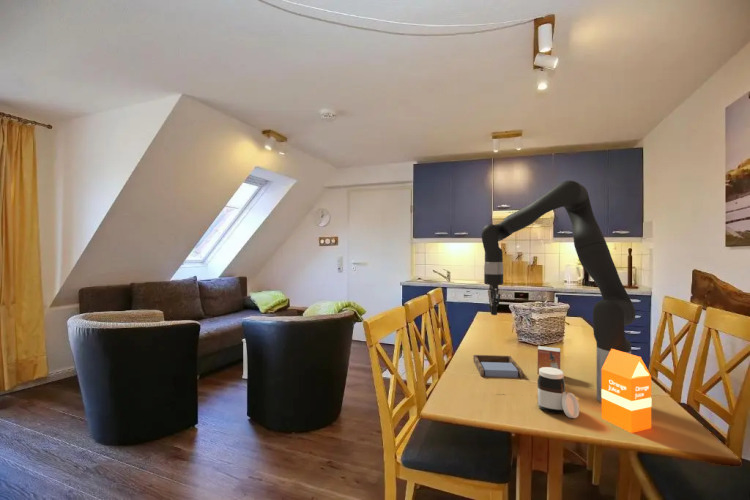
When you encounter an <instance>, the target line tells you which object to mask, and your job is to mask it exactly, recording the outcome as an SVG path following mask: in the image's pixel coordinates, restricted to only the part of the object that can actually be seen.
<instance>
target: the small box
mask: <svg viewBox="0 0 750 500" xmlns="http://www.w3.org/2000/svg"><path fill="white" fill-rule="evenodd" d="M536 363H537V367H536V368H537V372H536V373H537V375H540V374H539V369H540V368H542V367H552V368H557V369H560V370H561V348H559V347H552V346H551V347H549V346H543V345H542V346H541V345H538V347H537V362H536Z"/></svg>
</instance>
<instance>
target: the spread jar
mask: <svg viewBox="0 0 750 500" xmlns="http://www.w3.org/2000/svg"><path fill="white" fill-rule="evenodd" d="M564 375H565V373H564V371H563V370H561V368H560V369H557V368H552V367H542V368H540V369H539V374H538V378H537V407H538V408H540V409H541V410H542V411H545V412H548V413H551V414H561V413H564V414H565V415H566V417H568V418H569V419H577V418H578V417H579V415H580V405H579V401H578V399H577V397H576V395H575V394H574V393H572V392H566V383H565V382H566V381H565V379H564Z"/></svg>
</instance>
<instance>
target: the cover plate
mask: <svg viewBox="0 0 750 500" xmlns="http://www.w3.org/2000/svg"><path fill="white" fill-rule="evenodd" d="M481 365H482V367H483V369H484V375H485V376H492V377H491V378H503V377H518V370H517V369H516V368H515V366H514V365H513V364H512V363H499V362H481Z"/></svg>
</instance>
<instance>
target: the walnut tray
mask: <svg viewBox="0 0 750 500" xmlns="http://www.w3.org/2000/svg"><path fill="white" fill-rule="evenodd" d="M481 362H499V363H512V364H513V365H514V366H515V368H516V369H517V370H518V377H502V378H504V379H505V378H507V379H523V377H524V375H523V374H524V373H523V372H524V371H523V369H522V368H521V367H520V366H519V365H518V363H517V362H516V361H515V360H514V358H513V357H512V356H511V355H495V354H493V355H488V354H473V363H474V365H475V367H476V369H477V371H478V374H479V375H480V377H482V378H485V377H486V378H493V377H492V376H485V375H484V369H483V367H482V365H481Z"/></svg>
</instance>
